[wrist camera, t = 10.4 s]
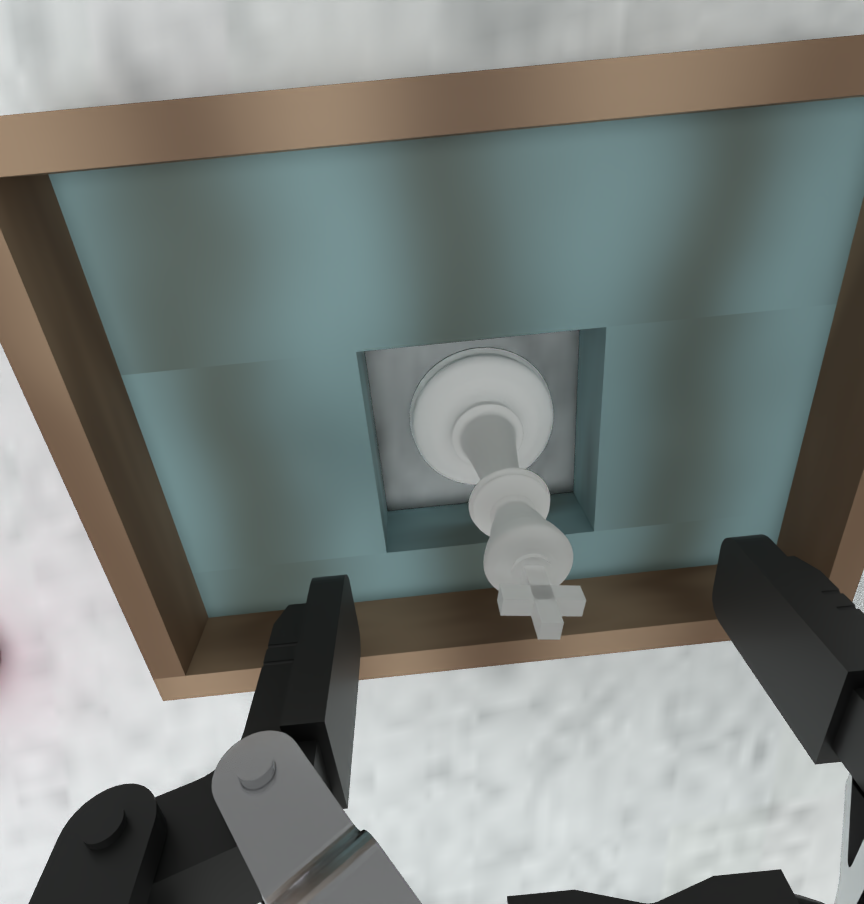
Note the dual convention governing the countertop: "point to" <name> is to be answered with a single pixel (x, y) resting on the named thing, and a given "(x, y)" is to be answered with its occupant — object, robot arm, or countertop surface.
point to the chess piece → (501, 475)
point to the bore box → (445, 339)
